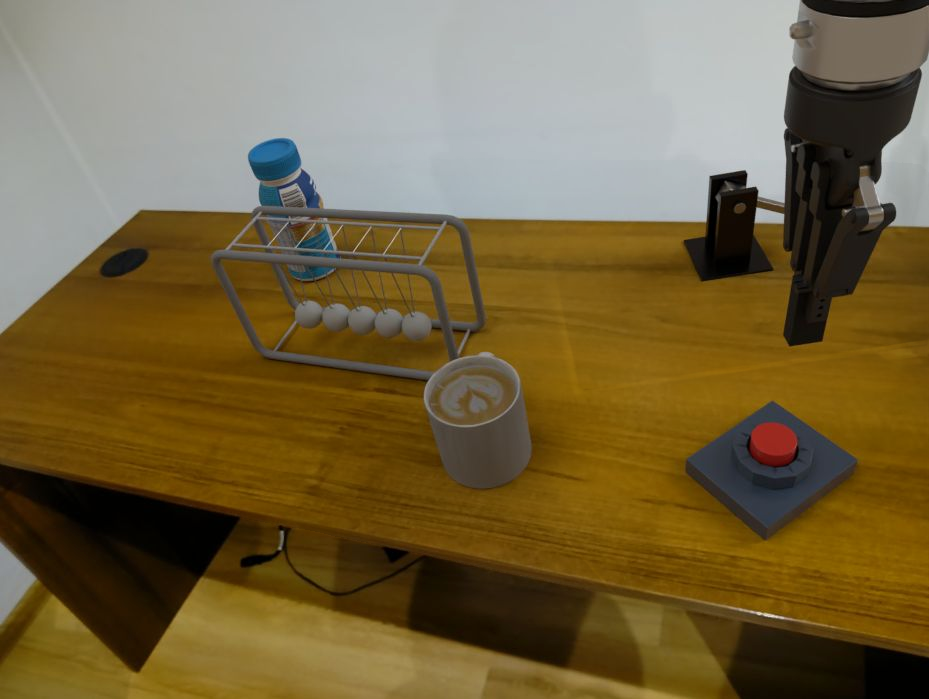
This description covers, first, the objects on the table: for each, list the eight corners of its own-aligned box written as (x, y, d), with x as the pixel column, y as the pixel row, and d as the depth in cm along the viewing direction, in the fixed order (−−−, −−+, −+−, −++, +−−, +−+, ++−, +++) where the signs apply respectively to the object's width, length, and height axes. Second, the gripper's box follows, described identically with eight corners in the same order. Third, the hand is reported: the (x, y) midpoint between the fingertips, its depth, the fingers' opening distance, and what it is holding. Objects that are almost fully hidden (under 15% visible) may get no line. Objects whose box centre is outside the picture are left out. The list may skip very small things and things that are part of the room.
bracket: (749, 236, 98) (759, 158, 90) (772, 276, 91) (784, 196, 83) (683, 246, 99) (686, 170, 91) (700, 286, 92) (706, 208, 84)
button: (769, 427, 70) (772, 415, 69) (804, 452, 68) (807, 440, 66) (740, 448, 69) (741, 436, 68) (774, 474, 66) (776, 462, 65)
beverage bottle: (280, 283, 109) (229, 166, 96) (302, 250, 115) (256, 135, 101) (331, 284, 107) (285, 164, 93) (350, 250, 112) (310, 132, 99)
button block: (769, 413, 76) (774, 388, 73) (854, 473, 69) (862, 447, 66) (684, 472, 72) (686, 447, 70) (764, 541, 66) (769, 516, 63)
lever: (801, 219, 93) (815, 198, 91) (810, 233, 91) (826, 212, 89) (712, 197, 90) (724, 175, 88) (719, 211, 88) (732, 188, 86)
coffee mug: (515, 497, 74) (503, 434, 67) (428, 479, 77) (407, 418, 71) (550, 402, 82) (542, 338, 76) (470, 389, 86) (455, 328, 79)
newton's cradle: (257, 358, 97) (202, 252, 85) (294, 308, 104) (248, 203, 92) (463, 387, 86) (434, 270, 74) (489, 329, 93) (466, 213, 81)
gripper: (759, 39, 50) (733, 297, 66) (836, 122, 41) (785, 400, 57) (870, 17, 49) (817, 284, 65) (975, 97, 40) (883, 386, 56)
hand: (802, 338), depth 61 cm, fingers closed
